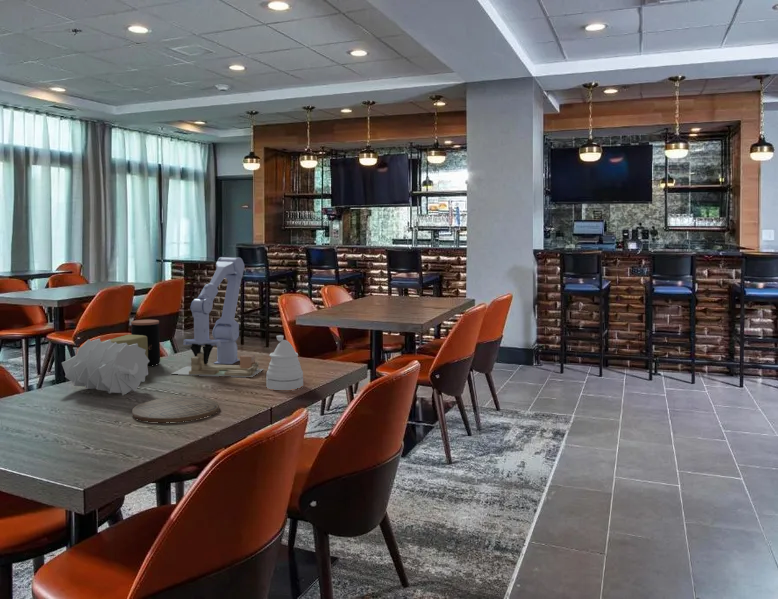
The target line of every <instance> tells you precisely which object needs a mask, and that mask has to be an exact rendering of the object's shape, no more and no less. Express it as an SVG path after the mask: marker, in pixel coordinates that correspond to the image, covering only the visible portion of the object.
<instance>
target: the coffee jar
mask: <svg viewBox="0 0 778 599" xmlns="http://www.w3.org/2000/svg"><path fill="white" fill-rule="evenodd" d="M130 323H131V325H132V326H131V328H130V329H131V330H130V331H131V334H130V335H143V336H147V342H148V359H149V361H150V362H149V363H148V366H152V365H156V364H158V365H160V362H161V342H160V341H161V340H160V339H161V338H160V337H161V335H160V326H159V324H160V320H158V319H136V320H131V321H130ZM152 367H153V366H152Z"/></svg>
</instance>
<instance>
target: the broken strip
mask: <svg viewBox="0 0 778 599" xmlns="http://www.w3.org/2000/svg"><path fill="white" fill-rule="evenodd" d="M190 361H191V362H190V367H191V370H190V371H189V374H208V375H215V374H216V373H218V372H219V369H202V358H201V356H192V357H191V358H190ZM252 374H254V367H250V368H248V369H247V370H228V371H226V372H224V375H235V376H251V375H252Z"/></svg>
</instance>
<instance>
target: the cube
mask: <svg viewBox="0 0 778 599" xmlns="http://www.w3.org/2000/svg"><path fill="white" fill-rule="evenodd" d="M239 359H240V360H239V365H240V368H250V367H252V364H253V363H255V362H256V354H248V353H247V354H241V355H240V356H239Z"/></svg>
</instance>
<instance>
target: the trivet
mask: <svg viewBox="0 0 778 599" xmlns="http://www.w3.org/2000/svg"><path fill="white" fill-rule="evenodd" d="M131 410H132V418H133V417H134V418H135V419H134V418H133V419H134V420H136V419H138V420H141V421H148V422H158V423H166V422H169V423H170V422H183V421H184V423H186V422H185V421H191V420H196V419H200V418H204V417H207V416H210V415H213V414H215V413H216V412H218V413H219V411H220V403H219V401H216V400H215V399H212V398H208V397H207V398H206V397H201V396H173V397H171V396H170V397H164V398H157V399H152V400H147V401H144V402H141V403H139V404H137V405H136V406H134V407H133V408H132V409H131ZM218 410H219V411H218ZM216 414H217V413H216ZM216 414H215V415H216ZM213 416H214V415H213ZM138 420H137V421H138ZM141 421H140V422H141ZM191 422H192V421H191Z"/></svg>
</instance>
